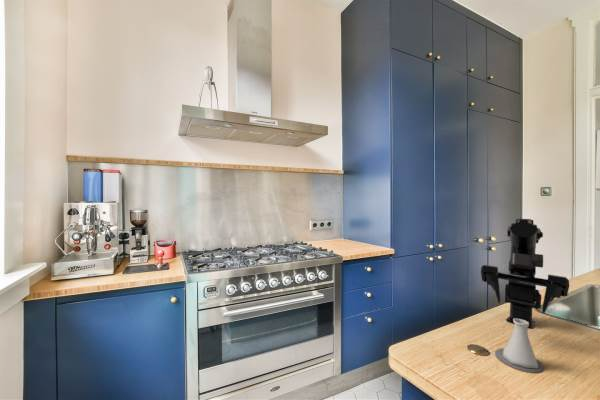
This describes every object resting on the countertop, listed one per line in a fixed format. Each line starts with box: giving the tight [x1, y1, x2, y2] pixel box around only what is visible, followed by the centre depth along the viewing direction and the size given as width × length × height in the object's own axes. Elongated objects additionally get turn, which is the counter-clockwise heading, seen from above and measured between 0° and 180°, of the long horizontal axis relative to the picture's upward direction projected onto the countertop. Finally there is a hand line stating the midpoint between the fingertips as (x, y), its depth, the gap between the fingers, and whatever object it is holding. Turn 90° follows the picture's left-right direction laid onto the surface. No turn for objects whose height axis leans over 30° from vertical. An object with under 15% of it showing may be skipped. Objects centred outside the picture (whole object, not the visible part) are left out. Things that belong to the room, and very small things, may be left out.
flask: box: [503, 319, 538, 368], centre depth 68 cm, size 7×7×10 cm
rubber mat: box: [494, 348, 544, 374], centre depth 69 cm, size 10×10×1 cm
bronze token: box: [466, 343, 490, 357], centre depth 73 cm, size 5×5×1 cm
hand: (520, 307), depth 72 cm, fingers open, 9 cm apart
